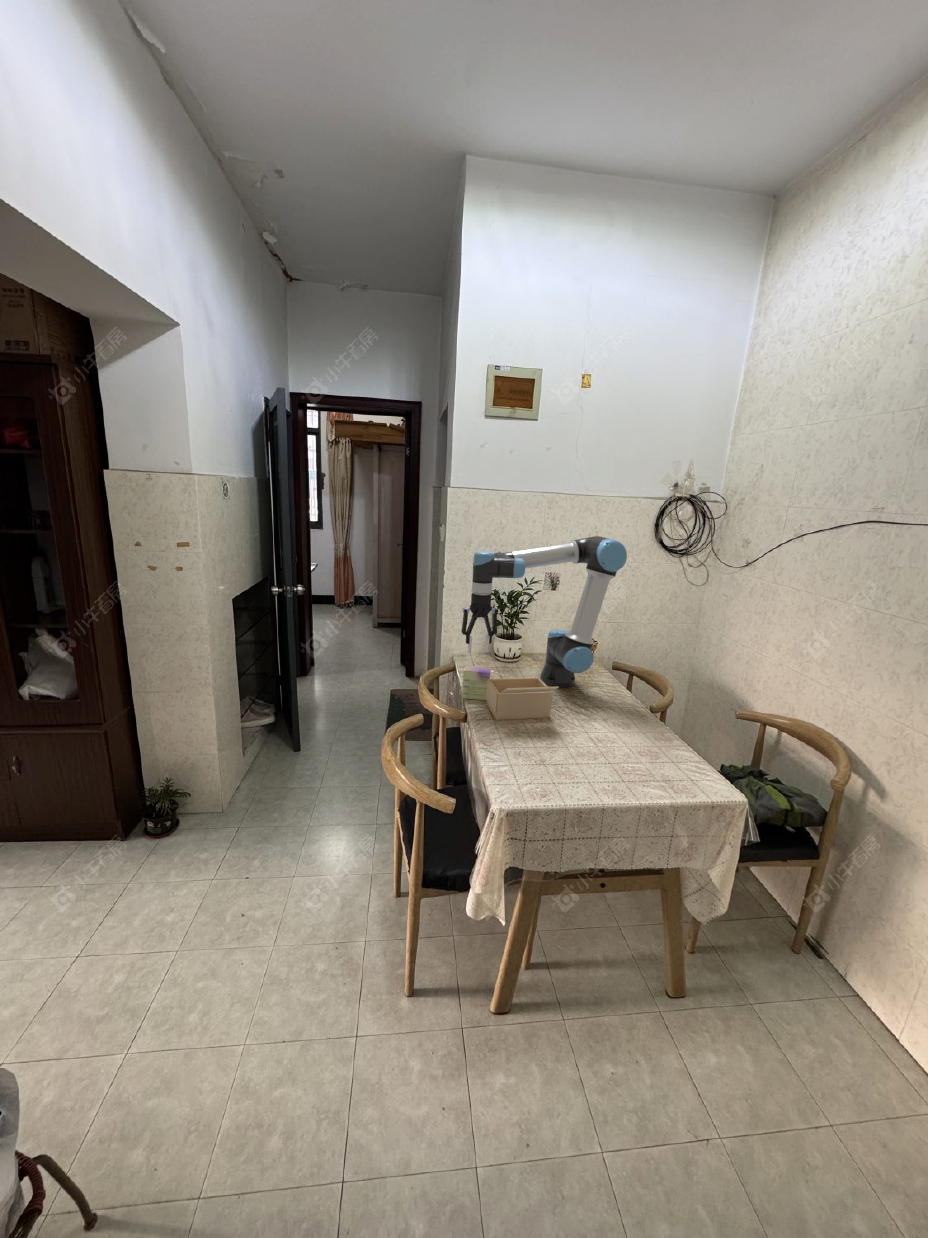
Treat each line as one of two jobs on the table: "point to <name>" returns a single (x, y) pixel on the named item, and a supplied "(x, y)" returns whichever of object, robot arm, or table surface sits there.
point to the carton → (518, 699)
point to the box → (475, 682)
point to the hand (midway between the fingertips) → (478, 651)
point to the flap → (529, 689)
